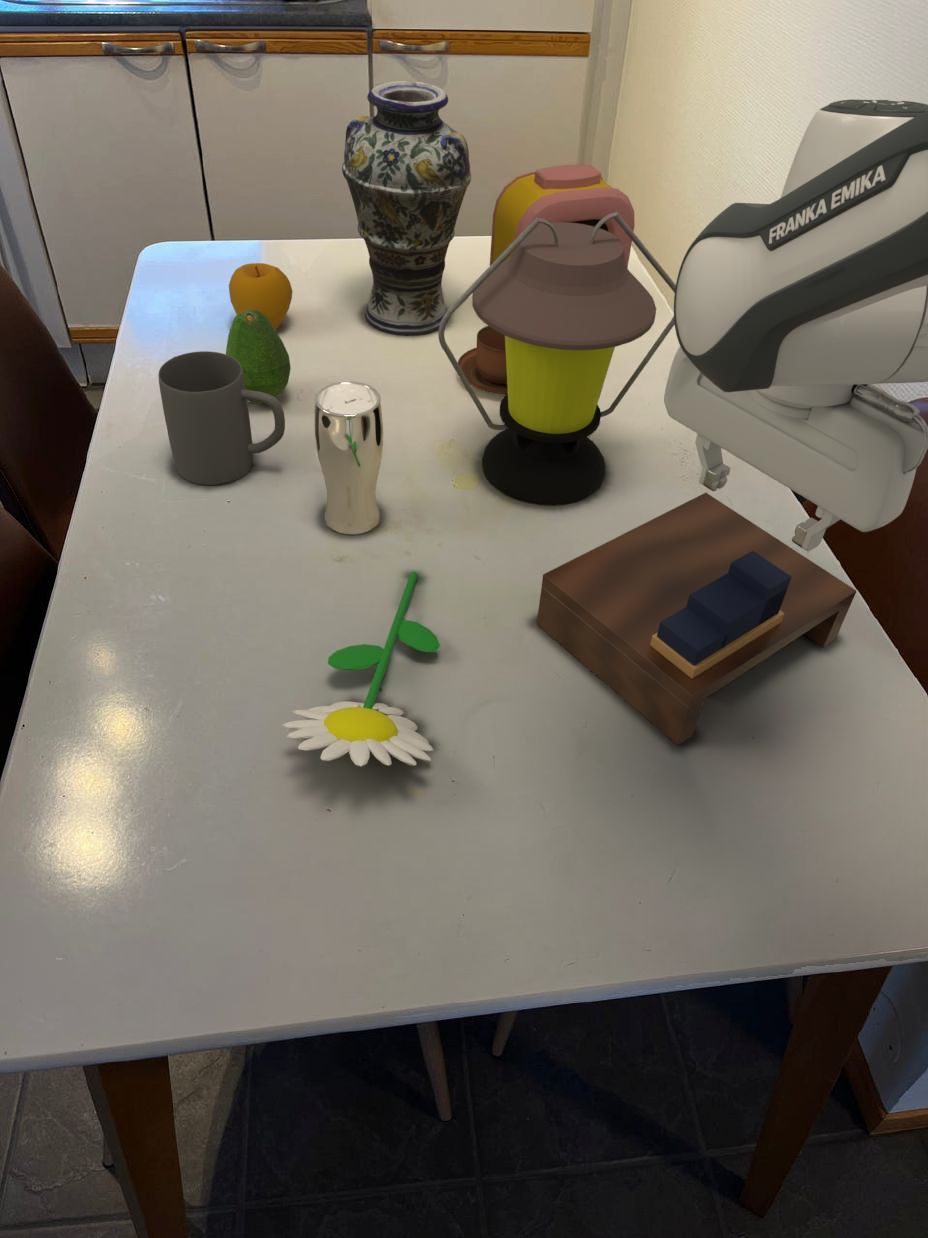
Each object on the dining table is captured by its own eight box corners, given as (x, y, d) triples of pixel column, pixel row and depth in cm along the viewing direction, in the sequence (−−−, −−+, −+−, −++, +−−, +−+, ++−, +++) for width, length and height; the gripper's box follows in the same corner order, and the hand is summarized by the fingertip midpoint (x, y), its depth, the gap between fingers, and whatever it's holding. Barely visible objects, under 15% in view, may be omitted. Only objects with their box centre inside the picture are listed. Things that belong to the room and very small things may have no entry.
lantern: (650, 438, 121) (702, 191, 100) (648, 531, 107) (708, 268, 87) (455, 413, 123) (467, 167, 102) (428, 502, 109) (435, 238, 89)
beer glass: (311, 531, 105) (302, 410, 94) (332, 494, 110) (325, 375, 99) (374, 542, 104) (371, 421, 93) (391, 504, 109) (391, 386, 98)
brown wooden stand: (835, 639, 96) (857, 590, 92) (677, 746, 85) (693, 696, 81) (693, 540, 107) (705, 492, 102) (536, 623, 96) (542, 574, 91)
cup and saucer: (470, 351, 135) (472, 309, 131) (554, 366, 133) (559, 324, 129) (446, 393, 127) (447, 349, 122) (535, 409, 125) (540, 366, 120)
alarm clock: (512, 328, 141) (523, 191, 127) (483, 295, 148) (491, 162, 135) (624, 311, 146) (646, 178, 133) (591, 281, 153) (609, 151, 140)
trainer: (738, 592, 91) (753, 546, 87) (781, 622, 88) (798, 576, 84) (649, 645, 85) (661, 598, 81) (691, 679, 82) (706, 632, 78)
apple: (296, 313, 141) (292, 253, 135) (292, 341, 135) (287, 280, 129) (237, 312, 140) (230, 252, 134) (230, 340, 134) (222, 279, 128)
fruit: (217, 402, 122) (204, 313, 114) (259, 377, 127) (250, 290, 119) (264, 423, 119) (254, 333, 111) (306, 397, 124) (299, 308, 116)
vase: (369, 282, 149) (364, 65, 129) (477, 300, 147) (489, 81, 126) (330, 330, 138) (318, 100, 117) (447, 351, 135) (455, 118, 114)
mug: (161, 480, 110) (142, 386, 102) (192, 436, 117) (177, 345, 108) (276, 498, 109) (266, 404, 100) (301, 453, 115) (294, 362, 107)
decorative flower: (352, 586, 102) (263, 791, 77) (355, 547, 99) (263, 747, 75) (471, 608, 101) (418, 822, 77) (477, 570, 98) (424, 779, 74)
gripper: (966, 404, 63) (893, 568, 72) (725, 289, 74) (689, 443, 84) (911, 434, 60) (842, 600, 69) (668, 309, 71) (637, 467, 81)
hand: (756, 513), depth 77 cm, fingers open, 8 cm apart
